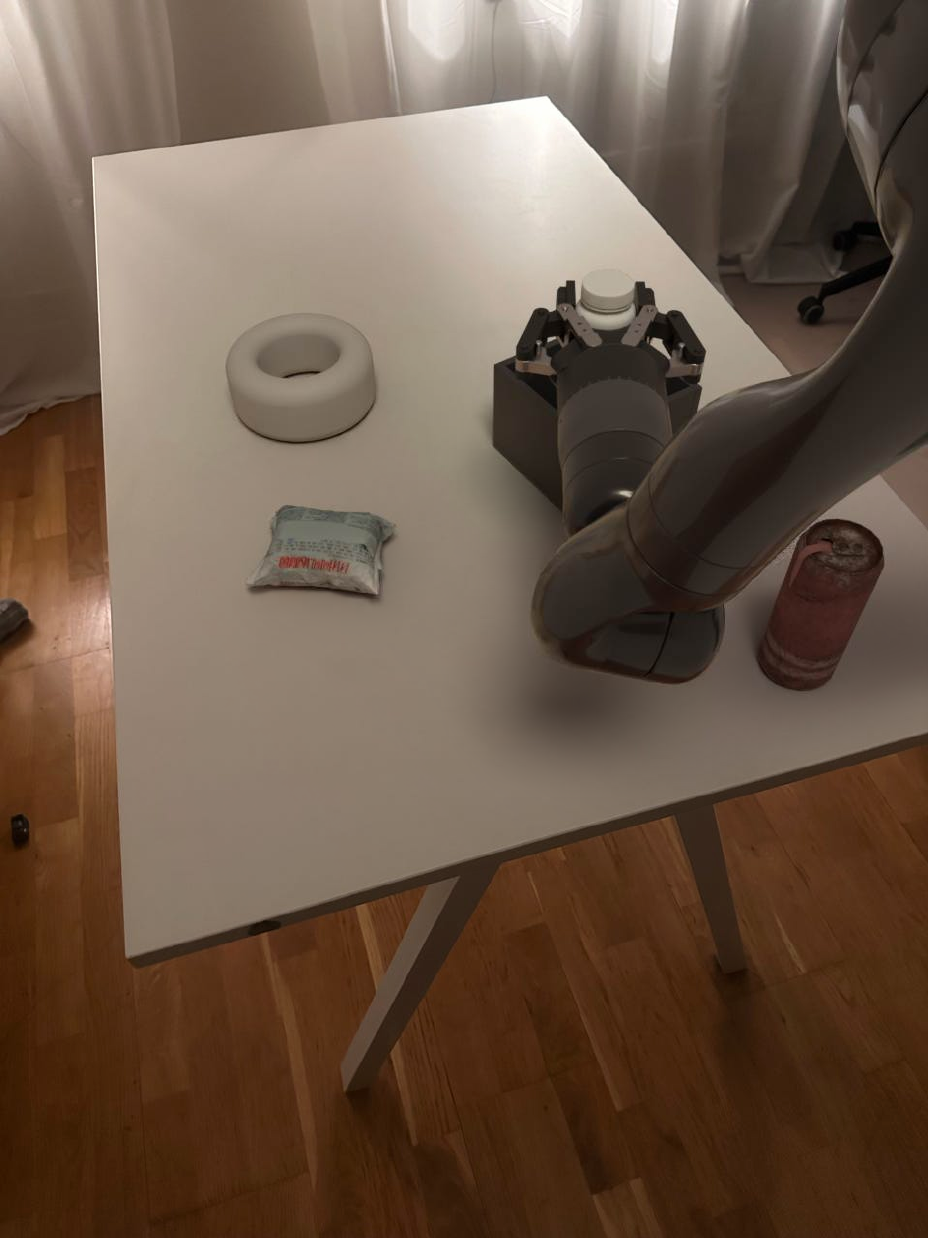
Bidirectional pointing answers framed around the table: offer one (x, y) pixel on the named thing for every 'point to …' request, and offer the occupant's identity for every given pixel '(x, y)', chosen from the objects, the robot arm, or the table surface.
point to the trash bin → (553, 421)
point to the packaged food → (323, 550)
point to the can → (820, 602)
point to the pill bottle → (607, 300)
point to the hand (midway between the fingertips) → (603, 291)
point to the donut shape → (304, 401)
